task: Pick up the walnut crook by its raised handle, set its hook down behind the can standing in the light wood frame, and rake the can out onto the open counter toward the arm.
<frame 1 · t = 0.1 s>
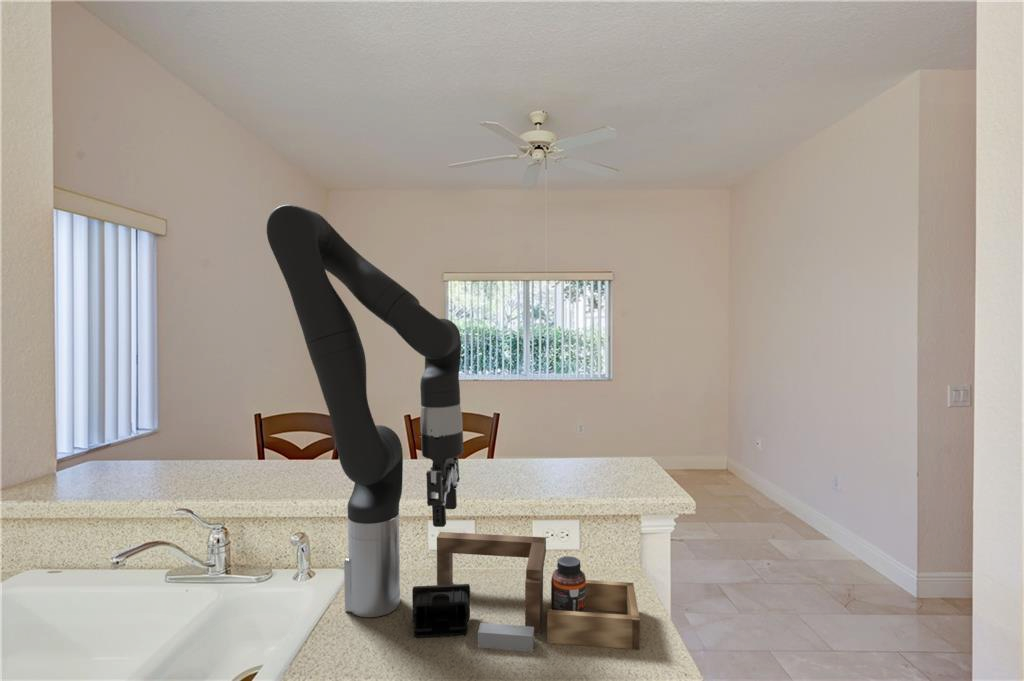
hand: (445, 517, 104), 17 cm above the countertop, tool pointing down, fingers open, 8 cm apart
black box: (441, 627, 99), on the countertop
light wood frame: (593, 625, 99), on the countertop
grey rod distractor: (506, 645, 94), on the countertop
supplement bottle: (568, 624, 100), on the countertop
walnut crook: (534, 620, 101), on the countertop
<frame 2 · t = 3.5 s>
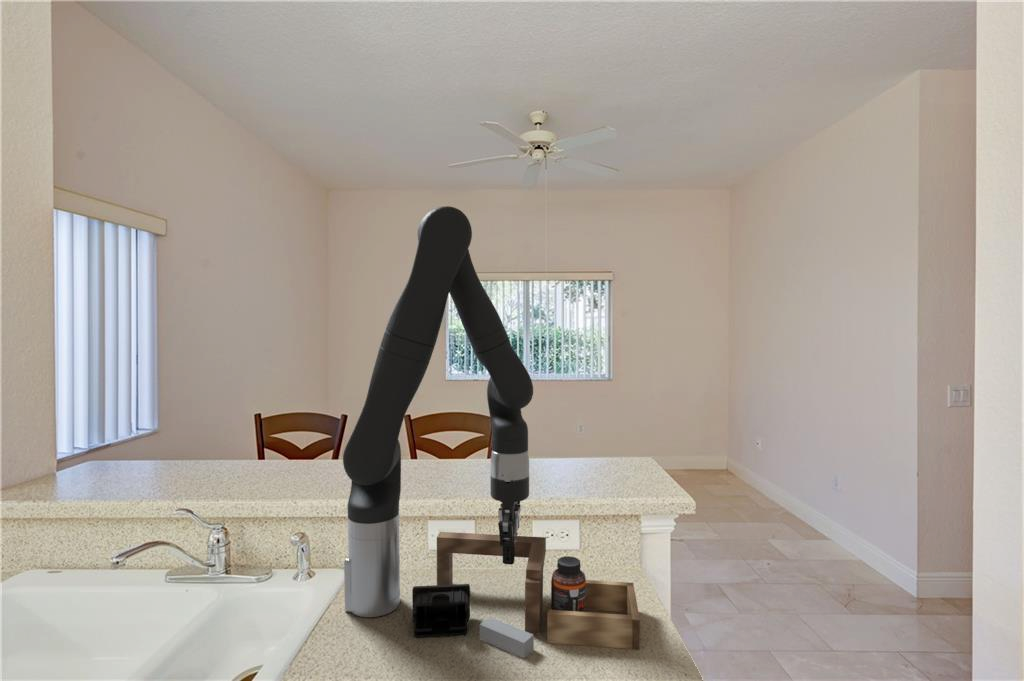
hand: (509, 559, 111), 6 cm above the countertop, tool pointing down, fingers closed on walnut crook, 2 cm apart
walnut crook: (534, 620, 101), on the countertop, touching gripper
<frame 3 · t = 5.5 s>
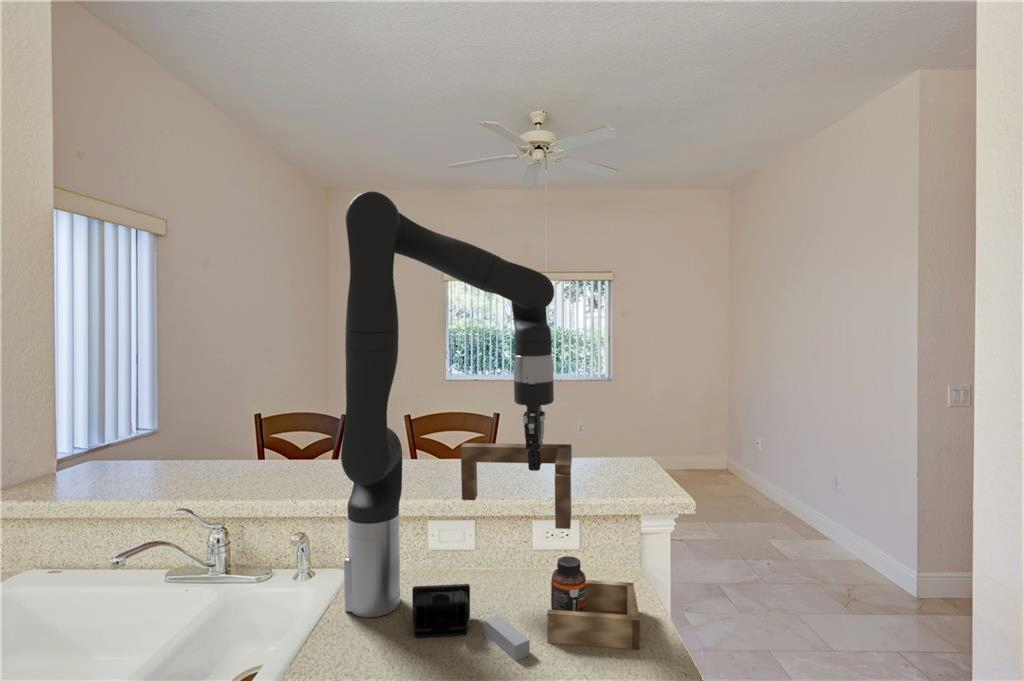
hand: (535, 467, 109), 25 cm above the countertop, tool pointing down, fingers closed on walnut crook, 2 cm apart
walnut crook: (563, 519, 99), point 19 cm above the countertop, touching gripper
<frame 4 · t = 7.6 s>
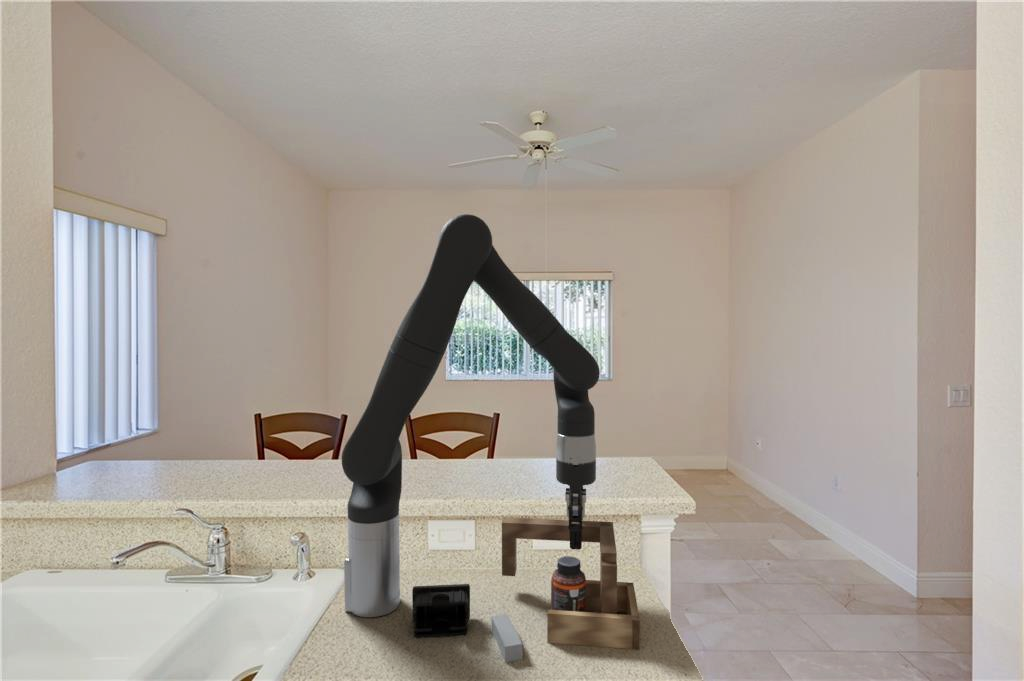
hand: (575, 544, 109), 10 cm above the countertop, tool pointing down, fingers closed on walnut crook, 2 cm apart
walnut crook: (608, 605, 99), point 4 cm above the countertop, touching gripper
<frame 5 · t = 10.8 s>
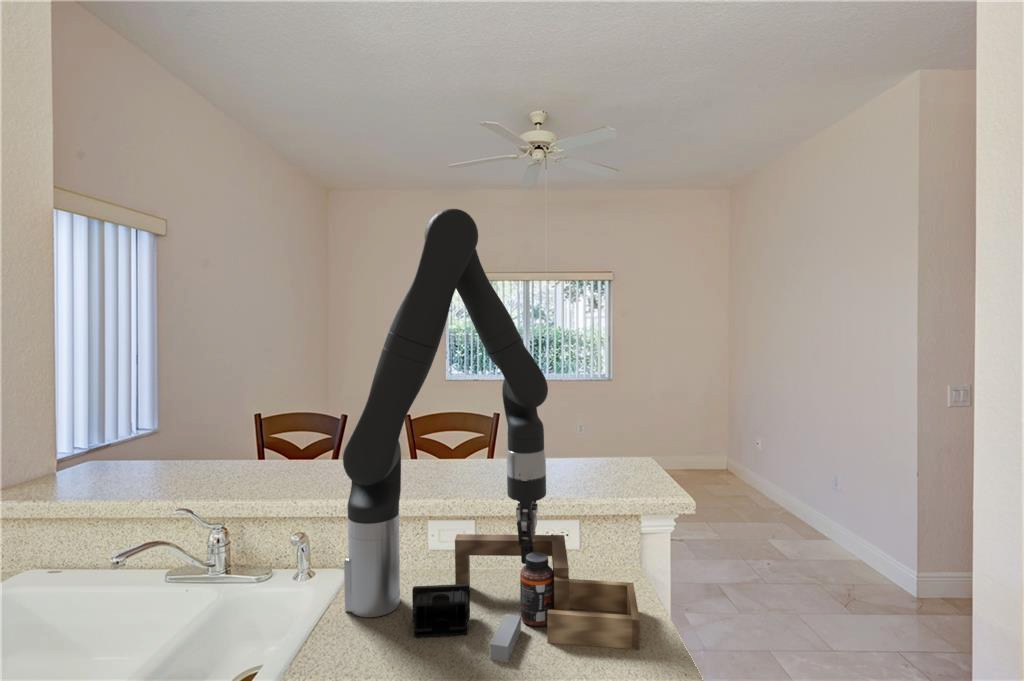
hand: (528, 558, 111), 7 cm above the countertop, tool pointing down, fingers closed on walnut crook, 3 cm apart
supplement bottle: (537, 619, 101), on the countertop, touching walnut crook
walnut crook: (560, 618, 101), on the countertop, touching supplement bottle, gripper
when the fingers open (7 cm above the countertop, at t = 11.6 s): walnut crook stays where it is, on the countertop.
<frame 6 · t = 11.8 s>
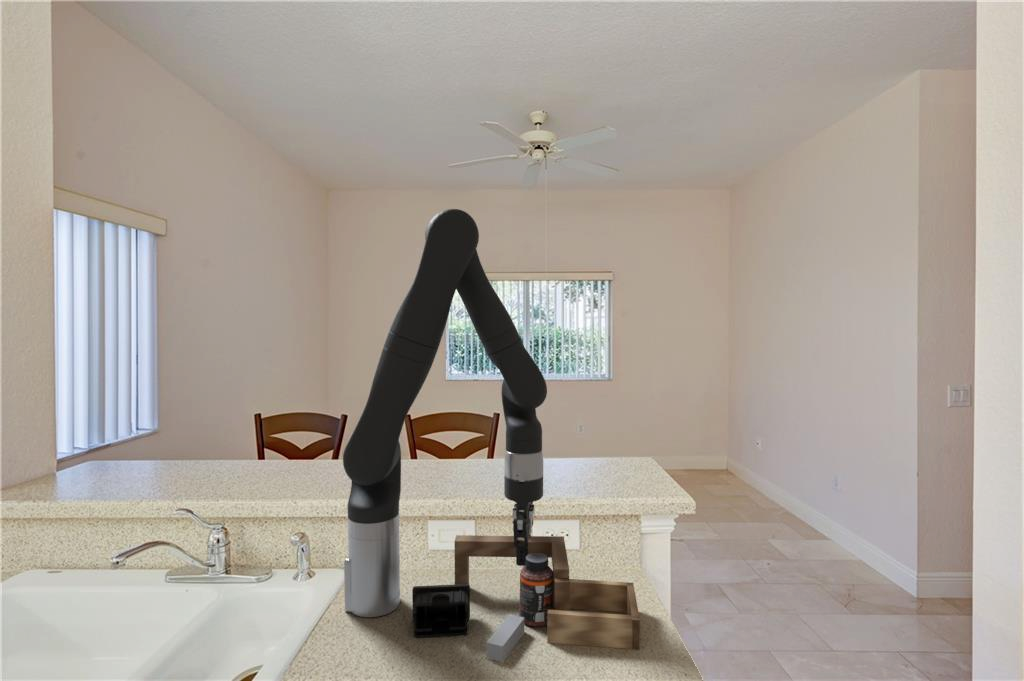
hand: (523, 558, 111), 7 cm above the countertop, tool pointing down, fingers open, 4 cm apart
supplement bottle: (536, 620, 101), on the countertop
walnut crook: (560, 620, 101), on the countertop
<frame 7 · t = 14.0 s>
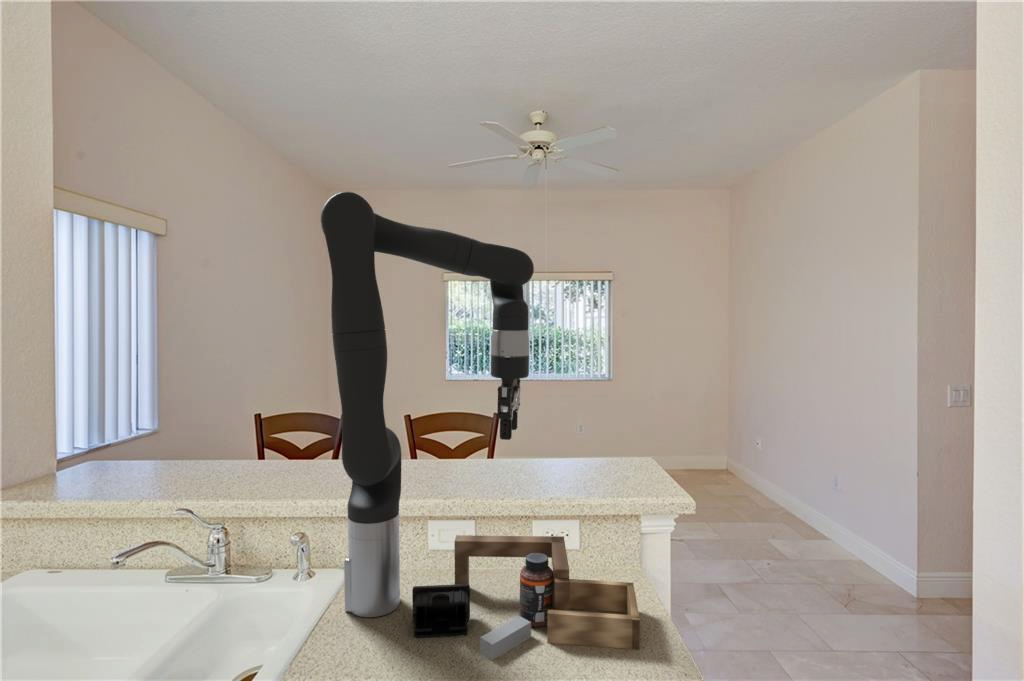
hand: (508, 434, 113), 30 cm above the countertop, tool pointing down, fingers open, 8 cm apart
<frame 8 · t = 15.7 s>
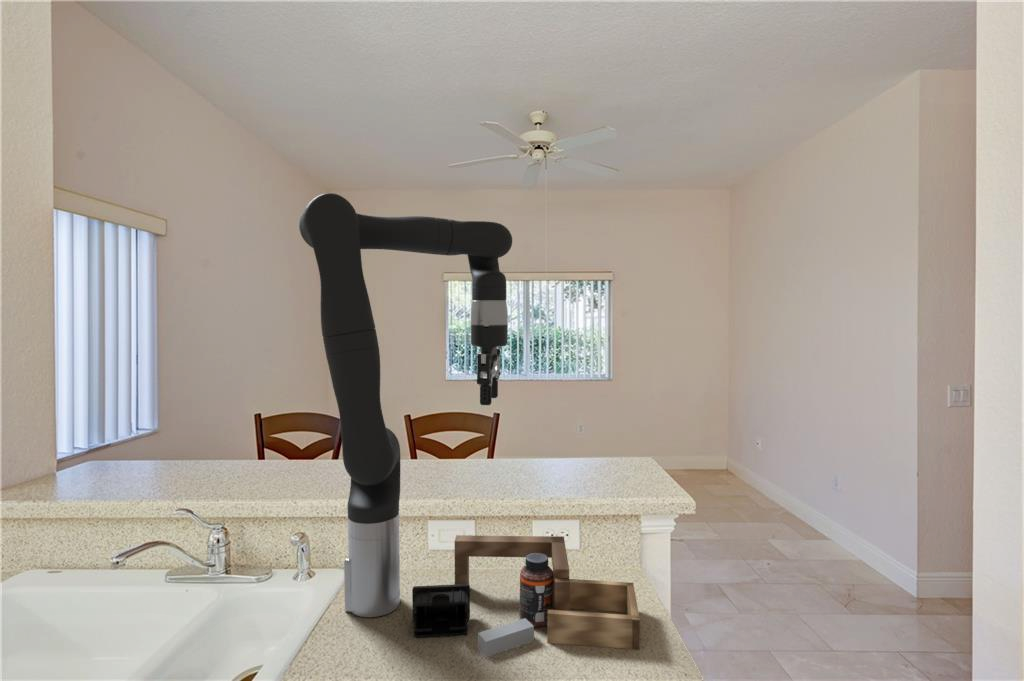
hand: (489, 401, 117), 36 cm above the countertop, tool pointing down, fingers open, 8 cm apart
at the end: supplement bottle inside the target area (4.1 cm from its centre), on the countertop; supplement bottle tilted 0° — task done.
